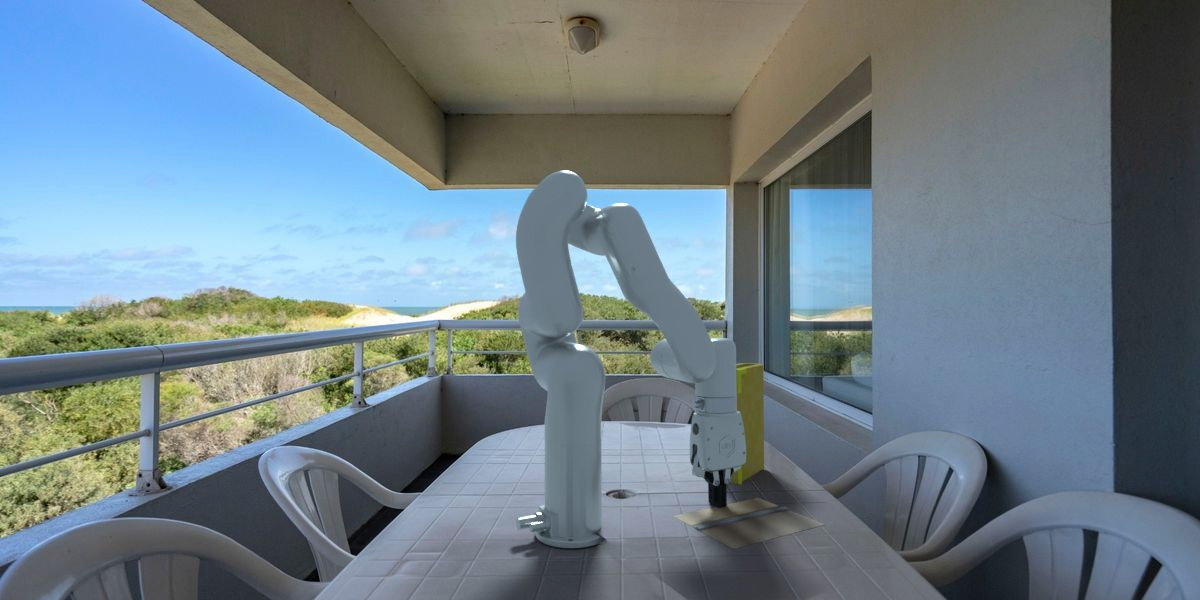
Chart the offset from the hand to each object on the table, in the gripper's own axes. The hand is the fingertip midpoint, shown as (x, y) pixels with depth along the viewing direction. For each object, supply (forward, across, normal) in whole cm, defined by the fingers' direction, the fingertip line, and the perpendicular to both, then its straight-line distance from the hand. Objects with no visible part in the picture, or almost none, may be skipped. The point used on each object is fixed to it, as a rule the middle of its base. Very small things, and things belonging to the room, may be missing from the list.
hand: (717, 504), depth 103 cm
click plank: (+2, -1, -1) cm, 2 cm away
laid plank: (+2, -1, -11) cm, 11 cm away
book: (+2, +18, +14) cm, 23 cm away
